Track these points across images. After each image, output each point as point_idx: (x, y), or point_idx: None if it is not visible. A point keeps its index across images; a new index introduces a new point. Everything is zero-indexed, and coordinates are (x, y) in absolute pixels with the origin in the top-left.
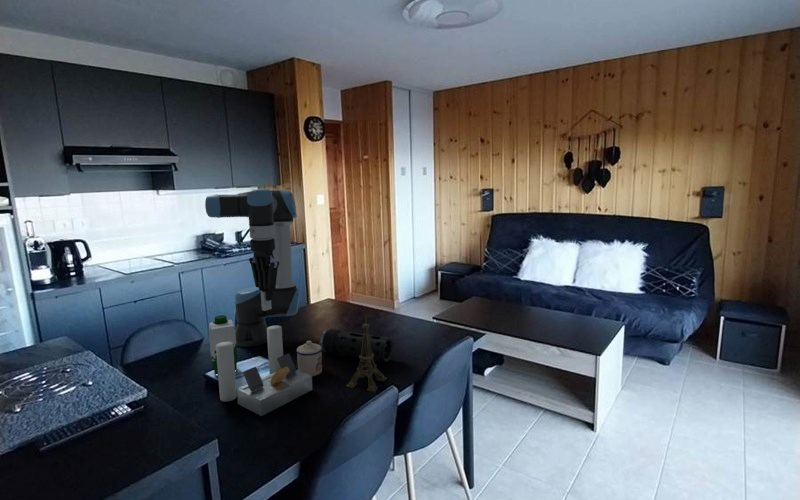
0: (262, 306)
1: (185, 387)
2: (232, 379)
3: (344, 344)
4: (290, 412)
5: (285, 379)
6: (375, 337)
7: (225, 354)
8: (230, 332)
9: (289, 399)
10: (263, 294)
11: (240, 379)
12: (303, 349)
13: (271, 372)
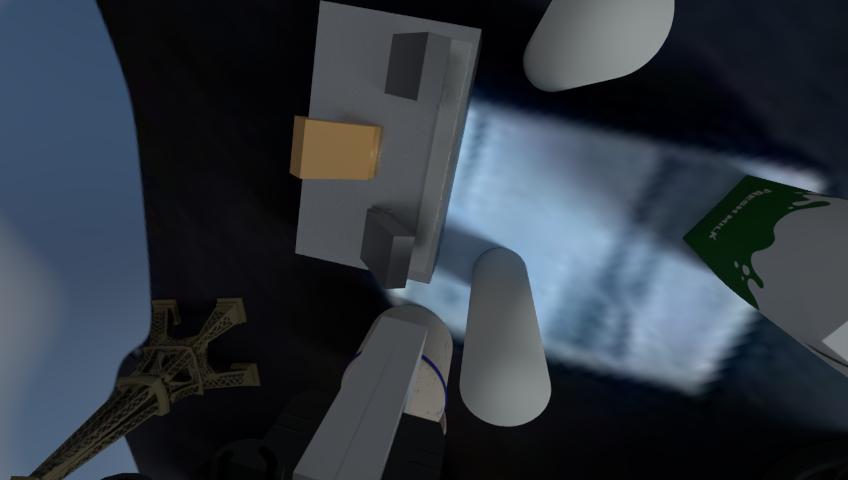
0: (405, 343)
1: (816, 37)
2: (529, 48)
3: None
4: (276, 83)
5: (360, 188)
6: None
7: None
8: (810, 299)
9: None
10: (319, 436)
11: (620, 197)
12: None
13: (502, 256)
